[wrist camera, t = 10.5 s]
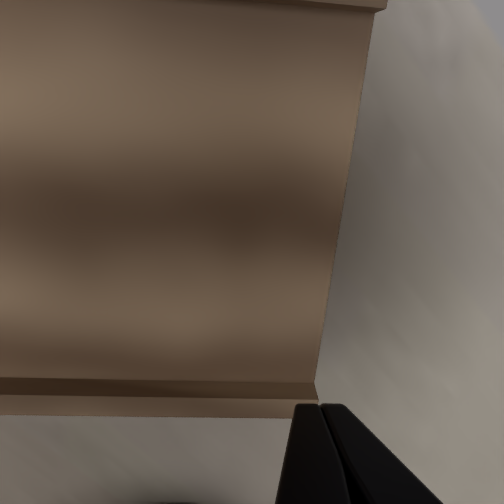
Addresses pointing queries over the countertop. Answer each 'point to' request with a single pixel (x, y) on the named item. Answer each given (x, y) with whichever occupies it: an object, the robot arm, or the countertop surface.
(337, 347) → the countertop surface
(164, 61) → the deck
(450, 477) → the countertop surface
